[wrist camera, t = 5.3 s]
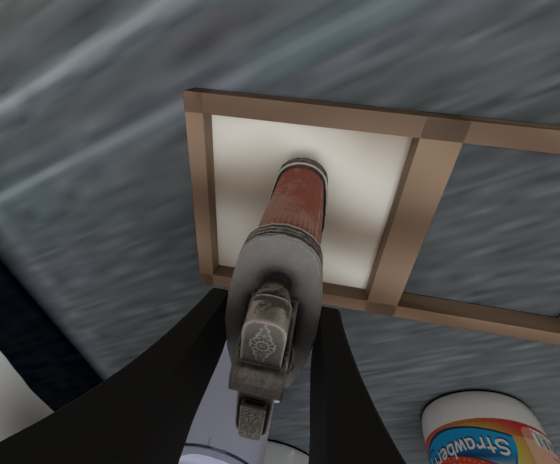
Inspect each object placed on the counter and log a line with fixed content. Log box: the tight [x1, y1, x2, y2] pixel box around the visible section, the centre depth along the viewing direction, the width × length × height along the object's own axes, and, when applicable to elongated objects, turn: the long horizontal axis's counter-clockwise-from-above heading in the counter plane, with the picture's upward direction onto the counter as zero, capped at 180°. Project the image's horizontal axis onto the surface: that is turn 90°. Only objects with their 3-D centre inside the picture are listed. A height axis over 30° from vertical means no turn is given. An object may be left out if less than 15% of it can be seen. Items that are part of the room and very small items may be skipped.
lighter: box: [225, 157, 328, 441], centre depth 13 cm, size 8×3×10 cm, turn 173°
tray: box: [183, 88, 560, 345], centre depth 18 cm, size 13×26×2 cm, turn 86°
